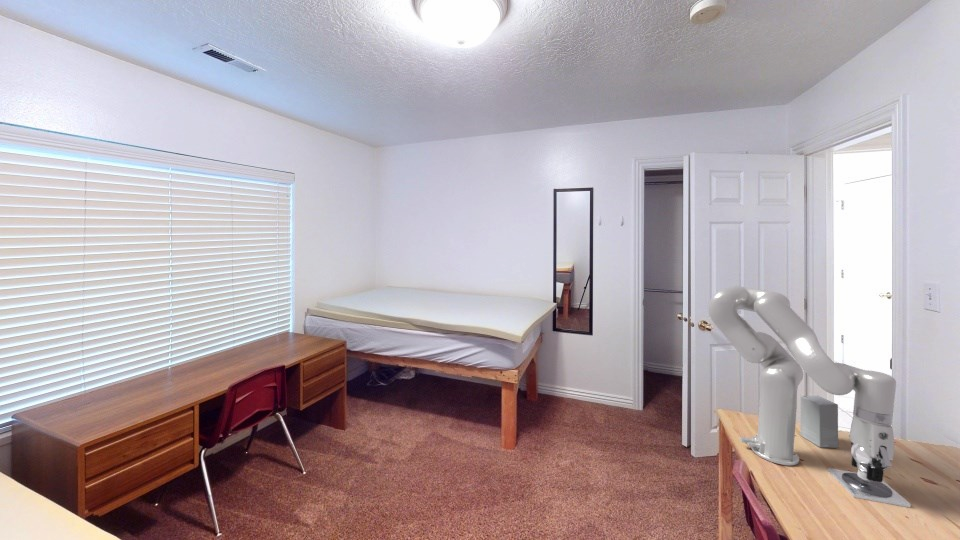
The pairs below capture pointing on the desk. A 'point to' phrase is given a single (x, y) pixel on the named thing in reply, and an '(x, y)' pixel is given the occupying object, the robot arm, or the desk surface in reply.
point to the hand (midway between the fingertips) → (866, 472)
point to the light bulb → (862, 461)
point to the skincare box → (819, 421)
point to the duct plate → (868, 488)
